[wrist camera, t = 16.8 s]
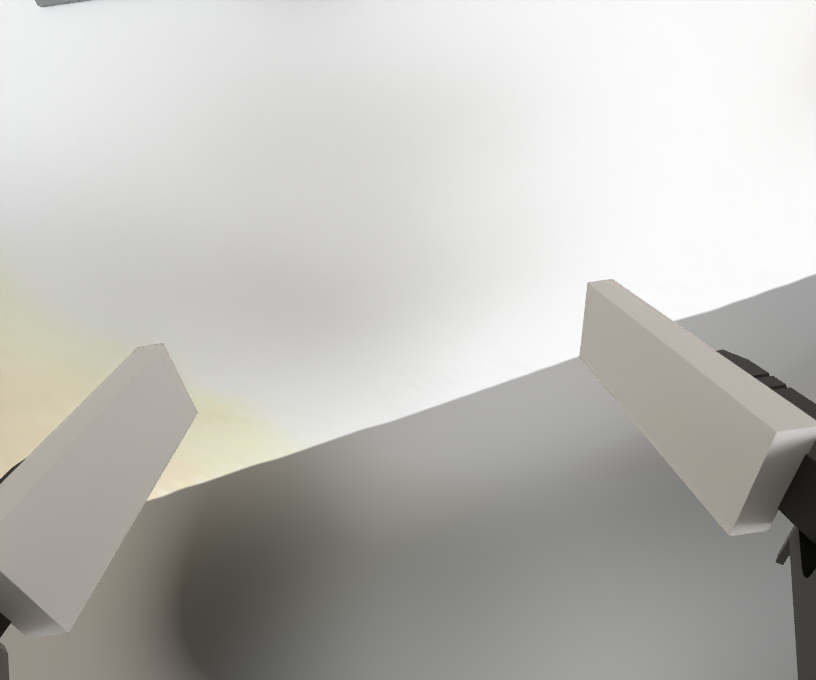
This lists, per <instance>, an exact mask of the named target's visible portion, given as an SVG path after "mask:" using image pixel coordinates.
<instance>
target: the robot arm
mask: <svg viewBox="0 0 816 680" xmlns="http://www.w3.org/2000/svg"><path fill="white" fill-rule="evenodd" d="M579 358H580V359H581V360H582V361H583V362H584V364H585V365H586V366H587V367H588V368H589V370H590V371H591V372H592V373H593V374H594V376H595V377H596V378H597V379H598V380H599V382H600V383H601V384H602V385H603V386H604V387H605V389H606V390H607V391H608V392H609V393H610V395H611V396H612V397H613V398H614V399H615V401H616V402H617V403H618V404H619V405H620V406H621V408H622V409H623V410H624V411H625V412H626V414H627V415H628V416H629V417H630V418H631V420H632V421H633V422H634V423H635V424H636V425H637V427H638V428H639V429H640V430H641V431H642V433H643V434H644V435H645V436H646V437H647V439H648V440H649V441H650V442H651V443H652V445H653V446H654V447H655V448H656V449H657V450H658V452H659V453H660V454H661V455H662V456H663V457H664V459H665V460H666V461H667V462H668V464H669V465H670V466H671V467H672V468H673V469H674V471H675V472H676V473H677V474H678V475H679V477H680V478H681V479H682V480H683V481H684V483H686V485H687V486H688V487H689V488H690V489H691V491H692V492H693V493H694V494H695V496H696V497H697V498H698V499H699V500H700V502H701V503H702V504H703V505H704V506H705V507H706V509H708V511H709V512H710V513H711V515H712V516H713V517H714V518H715V519H716V521H717V522H718V523H719V524H720V525H721V526H722V528H723V529H724V530H725V531H726V532H727V534H728V535H729V536H733V535H741V534H747V533H754V532H761V531H767V530H768V529H769V527H770V526H771V524H772V522H773V520H774V518H775V516H776V514H777V512H778V510H780V511H781V512H782V513H783V514H784V515H785V516H786V517H787V518H788V519H789V520H790V521H791V522H792V523H793V524H794V527H793V529H792V531H791V532H790V534H789V536H788V538H787V539H786V541H785V543H784V544H783V546H782V548H781V550H780V551H779V553H778V556H777V559H776V562H777V563H779V564H782V565H783V564H784V562H785V561H786V559H787V557H788V556H790V560H791V575H792V591H793V606H794V622H795V636H796V652H797V653H796V654H797V669H798V680H816V404H815V403H814V402H812V401H810V400H809V399H807V398H806V397H804V396H803V395H801V394H800V393H798V392H797V391H795V390H794V389H792V388H787V387H786V384H785V383H783V382H782V381H780V380H778V379H777V378H775V377H774V376H769V373H768V372H766V371H765V370H763V369H762V368H760V367H759V366H757V365H756V364H754V363H752V362H751V361H750V360H748V359H745V358H742V357H740V356H738V355H735V354H732V353H730V352H727V351H725V350H719V351H715V350H714V349H712V348H711V347H709V346H708V345H707V344H705V343H704V342H702V341H701V340H699V339H698V338H696V337H695V336H694V335H692V334H691V333H689V332H688V331H686V330H685V329H684V328H682V327H681V326H679V325H678V324H676V323H675V322H674V321H672V320H671V319H669V318H668V317H666V316H665V315H663V314H662V313H661V312H659V311H658V310H656V309H655V308H653V307H652V306H650V305H649V304H648V303H646V302H645V301H643V300H642V299H640V298H639V297H637V296H636V295H635V294H633V293H632V292H630V291H629V290H627V289H626V288H625V287H623V286H622V285H620V284H619V283H617V282H616V281H614V280H613V279H609V280H602V281H595V282H588V284H587V293H586V302H585V311H584V321H583V330H582V339H581V348H580V357H579ZM197 413H198V412H197V410H196V408H195V406H194V404H193V402H192V400H191V398H190V396H189V394H188V392H187V390H186V388H185V386H184V384H183V382H182V380H181V378H180V376H179V374H178V372H177V370H176V368H175V366H174V364H173V362H172V360H171V358H170V356H169V354H168V352H167V350H166V348H165V346H164V344H156V345H149V346H142V347H138V348H137V349H136V350H135V351H134V352H133V353H132V354H131V355H130V356H129V357H128V358H127V359H126V360H125V361H124V362H123V363H122V364H121V365H120V366H119V367H118V368H117V369H116V370H115V371H114V372H113V373H112V374H111V375H110V376H109V377H108V378H107V379H106V380H105V381H104V382H103V383H102V384H101V385H100V386H99V387H98V388H97V389H96V390H95V391H94V392H93V393H92V394H91V395H89V396H88V397H87V398H86V399H85V400H84V401H83V402H82V403H81V404H80V405H79V406H78V407H77V408H76V409H75V410H74V411H73V412H72V413H71V414H70V415H69V416H68V417H67V418H66V419H65V420H64V421H63V422H62V423H61V424H60V425H59V426H58V427H57V428H56V429H55V430H54V431H53V432H52V433H51V434H50V435H49V436H48V437H47V438H46V439H45V440H44V441H43V442H42V443H41V444H40V445H39V446H38V447H37V448H36V449H35V450H34V451H33V452H32V453H31V454H30V455H29V456H28V457H27V458H25V459H24V460H23V461H21V462H20V463H18V464H17V465H15V466H14V467H13V468H11V469H10V470H9V471H8V472H7V473H6V474H5V475H4V476H3V477H2V478H1V479H0V637H1V636H2V634H3V633H4V632H5V630H6V629H7V627H8V626H9V625H10V623H11V624H12V625H14V626H15V627H16V628H17V629H18V630H20V631H21V632H22V633H23V634H24V635H26V636H27V637H28V638H29V639H31V638H37V637H45V636H51V635H58V634H65V633H69V631H70V630H71V628H72V626H73V624H74V623H75V621H76V619H77V618H78V616H79V614H80V613H81V611H82V609H83V607H84V606H85V604H86V602H87V601H88V599H89V597H90V595H91V594H92V592H93V590H94V589H95V587H96V585H97V584H98V582H99V580H100V578H101V577H102V575H103V573H104V572H105V570H106V568H107V566H108V565H109V563H110V561H111V560H112V558H113V556H114V554H115V553H116V551H117V549H118V548H119V546H120V544H121V542H122V541H123V539H124V538H125V536H126V534H127V532H128V531H129V529H130V527H131V526H132V524H133V522H134V520H135V519H136V517H137V515H138V514H139V512H140V510H141V509H142V507H143V505H144V503H145V502H146V500H147V498H148V497H149V495H150V493H151V492H152V490H153V488H154V486H155V485H156V483H157V481H158V480H159V478H160V476H161V475H162V473H163V471H164V469H165V468H166V466H167V464H168V463H169V461H170V459H171V458H172V456H173V454H174V452H175V451H176V449H177V447H178V446H179V444H180V442H181V440H182V439H183V437H184V435H185V434H186V432H187V430H188V429H189V427H190V425H191V423H192V422H193V420H194V418H195V417H196V415H197ZM0 680H9V667H8V653H7V651H6V648H5V646H4V645H3V644H1V643H0Z"/></svg>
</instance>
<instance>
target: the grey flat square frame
mask: <svg viewBox="0 0 816 680" xmlns="http://www.w3.org/2000/svg"><path fill="white" fill-rule="evenodd" d="M35 1H36V3H37V5H38V6H41V7H44V6H51V5H58V4H65V3H73V2H80V1H87V0H35Z"/></svg>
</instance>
